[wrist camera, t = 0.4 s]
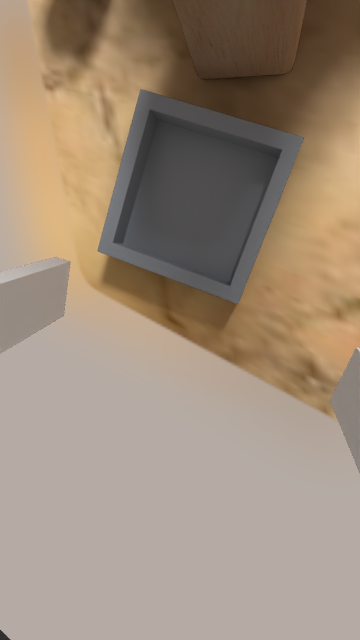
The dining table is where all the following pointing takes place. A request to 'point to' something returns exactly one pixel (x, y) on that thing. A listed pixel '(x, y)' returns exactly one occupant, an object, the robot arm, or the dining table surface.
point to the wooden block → (241, 35)
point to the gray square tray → (196, 194)
